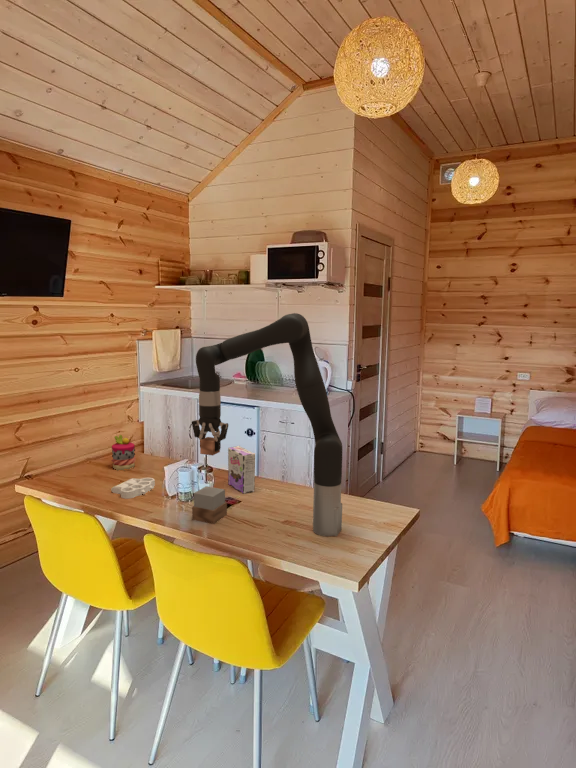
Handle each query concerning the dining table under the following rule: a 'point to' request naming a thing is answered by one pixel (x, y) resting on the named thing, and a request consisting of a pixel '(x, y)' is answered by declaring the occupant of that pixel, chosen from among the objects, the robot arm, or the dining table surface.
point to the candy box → (241, 469)
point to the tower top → (209, 498)
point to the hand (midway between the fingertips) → (210, 450)
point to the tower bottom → (209, 514)
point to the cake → (123, 454)
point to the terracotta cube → (208, 446)
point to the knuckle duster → (134, 487)
